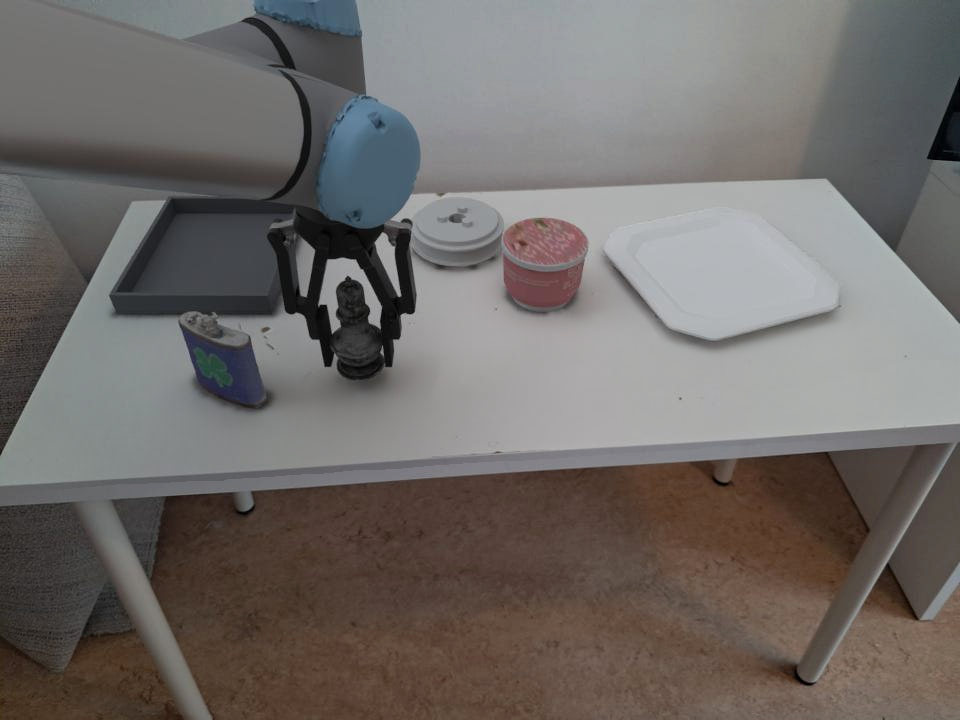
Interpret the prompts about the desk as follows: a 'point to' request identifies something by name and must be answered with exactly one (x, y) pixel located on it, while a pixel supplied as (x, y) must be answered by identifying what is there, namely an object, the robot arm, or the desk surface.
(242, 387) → the flask
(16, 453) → the desk surface
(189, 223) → the tray
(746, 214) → the plate
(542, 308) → the container
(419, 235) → the grey pulley wheel
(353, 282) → the chess piece
